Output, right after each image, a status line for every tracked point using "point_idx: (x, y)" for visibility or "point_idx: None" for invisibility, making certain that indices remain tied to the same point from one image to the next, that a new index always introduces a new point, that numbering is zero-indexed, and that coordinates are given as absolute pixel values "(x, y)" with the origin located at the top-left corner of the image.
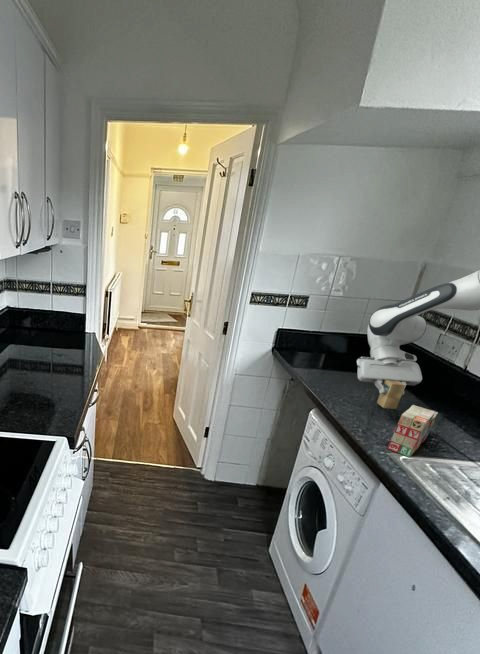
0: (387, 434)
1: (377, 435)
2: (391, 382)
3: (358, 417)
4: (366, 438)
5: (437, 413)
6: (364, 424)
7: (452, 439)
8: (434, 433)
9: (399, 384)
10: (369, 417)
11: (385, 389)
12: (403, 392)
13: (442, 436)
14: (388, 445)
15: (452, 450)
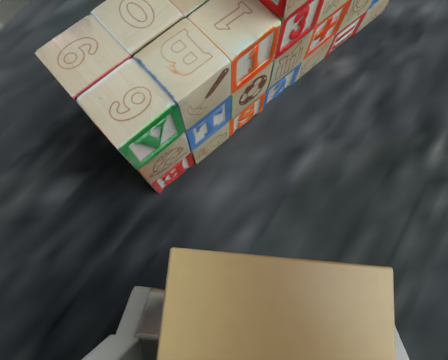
0: (315, 118)
1: (373, 104)
2: (358, 354)
3: None
4: (444, 71)
5: (51, 40)
6: (378, 221)
7: (12, 98)
8: (50, 152)
9: (266, 260)
10: None
11: None
12: (141, 294)
13: (35, 124)
14: (385, 5)
15: None
